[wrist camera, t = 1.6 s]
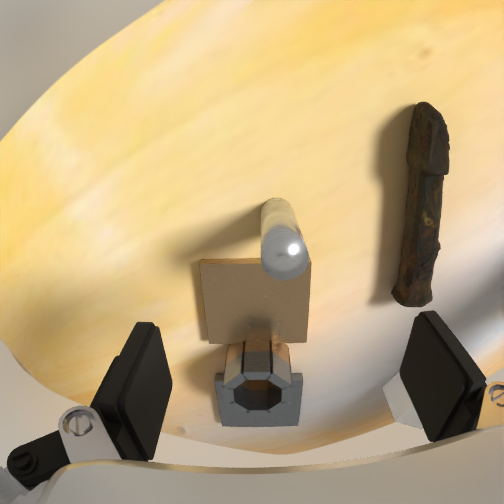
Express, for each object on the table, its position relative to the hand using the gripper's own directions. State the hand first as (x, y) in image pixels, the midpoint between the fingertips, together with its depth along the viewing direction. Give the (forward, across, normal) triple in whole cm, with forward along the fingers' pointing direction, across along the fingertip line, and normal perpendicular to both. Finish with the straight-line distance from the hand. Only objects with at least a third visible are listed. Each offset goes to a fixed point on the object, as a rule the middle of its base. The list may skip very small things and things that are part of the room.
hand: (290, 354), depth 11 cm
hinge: (+18, +1, +16) cm, 24 cm away
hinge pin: (+18, -1, 0) cm, 18 cm away
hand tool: (+19, -13, -1) cm, 23 cm away
